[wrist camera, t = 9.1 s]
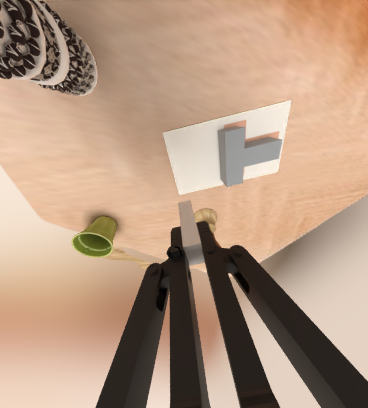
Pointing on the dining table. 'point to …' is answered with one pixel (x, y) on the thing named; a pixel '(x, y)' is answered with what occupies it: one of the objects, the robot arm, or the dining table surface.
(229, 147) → the T block
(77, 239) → the plant pot
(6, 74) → the decorative candle
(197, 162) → the board
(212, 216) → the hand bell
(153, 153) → the dining table surface
